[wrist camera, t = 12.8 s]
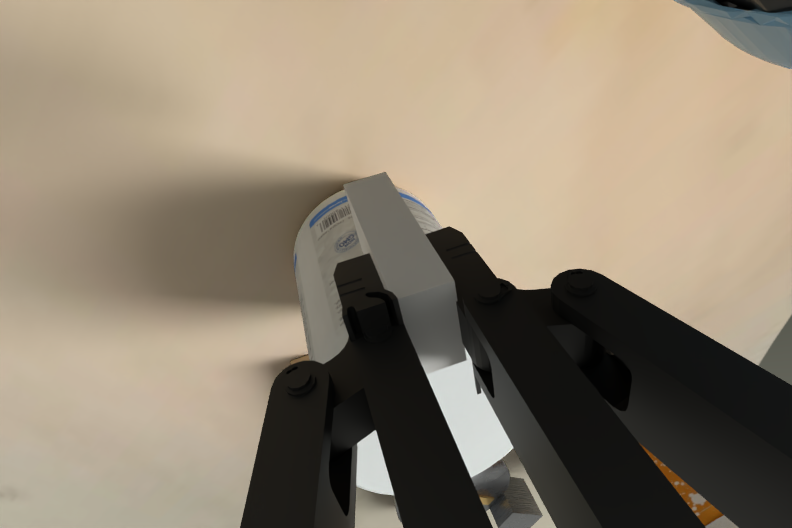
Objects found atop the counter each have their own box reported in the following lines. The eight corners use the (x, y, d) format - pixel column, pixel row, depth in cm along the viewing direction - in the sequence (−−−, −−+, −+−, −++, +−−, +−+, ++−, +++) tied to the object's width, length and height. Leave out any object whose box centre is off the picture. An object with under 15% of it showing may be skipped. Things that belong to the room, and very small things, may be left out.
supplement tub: (401, 315, 36) (480, 502, 24) (272, 292, 32) (291, 503, 20) (460, 199, 31) (591, 356, 20) (320, 156, 28) (380, 320, 16)
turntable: (370, 507, 46) (380, 550, 43) (432, 430, 42) (447, 471, 39) (486, 517, 53) (502, 554, 50) (548, 452, 49) (570, 488, 46)
